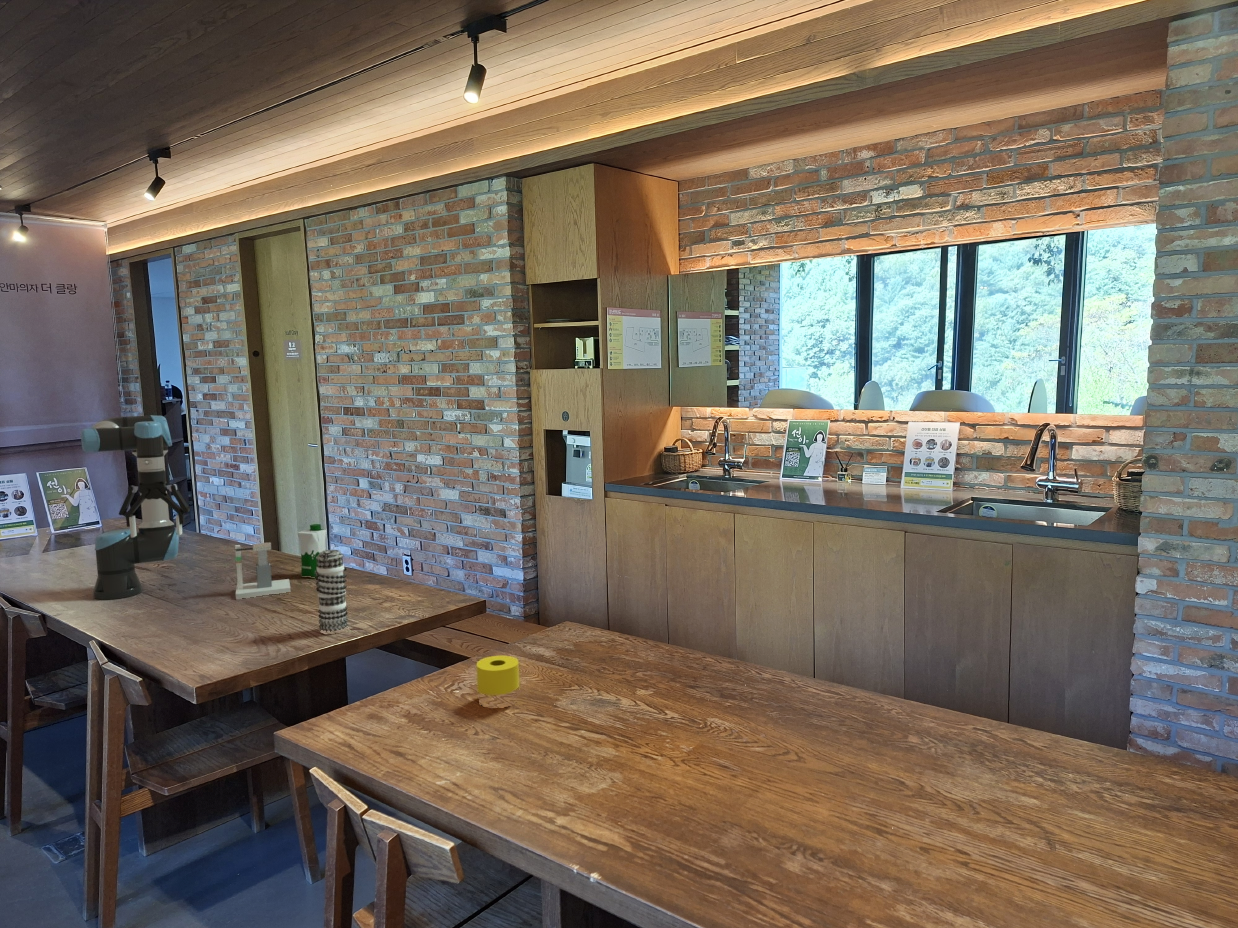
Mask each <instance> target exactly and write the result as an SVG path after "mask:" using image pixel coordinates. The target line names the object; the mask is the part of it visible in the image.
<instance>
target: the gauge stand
mask: <svg viewBox="0 0 1238 928" xmlns="http://www.w3.org/2000/svg"><path fill="white" fill-rule="evenodd" d="M234 547H235V548H234V552H235V558H234V559H235V565H236V575H237V577H236V579H237V584H236V587H235V599H236V600H243V599H242V598H246V599H251V598H250V597H254V598H257V597H256V596H262V595H269V594H279V593H286V592H291V584H290V579H289V578H287V579H278V580H275V579H274V580H273V579H272V567H271V563H270V562H268V565H267V566H259V563H257V564H255V570H256V582H250V583H244V582H243V580H244V579H243V569H242V567H243V566H242V562H243V561H242V552H241V551H236V549H241V545H240V544H238V545H237V544H236V545H234ZM291 593H292V592H291Z"/></svg>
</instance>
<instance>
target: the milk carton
mask: <svg viewBox="0 0 1238 928" xmlns="http://www.w3.org/2000/svg"><path fill="white" fill-rule="evenodd" d="M326 536H327V529H325V528H324V529H322V525H321V524H320V523H314V524H309V529H305V530H301V531H297V537H298V539H299V544H300V545H299V546H300V559H301V566H300V568H301V570H300V571H301V574H300V577H301V576H311V577H315V576H316V575H315V573H314V572H315V571H316V570H317V558H316V557H317V556H318V555H319V554H320V552H322V551H325V550H327V548H326Z"/></svg>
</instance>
